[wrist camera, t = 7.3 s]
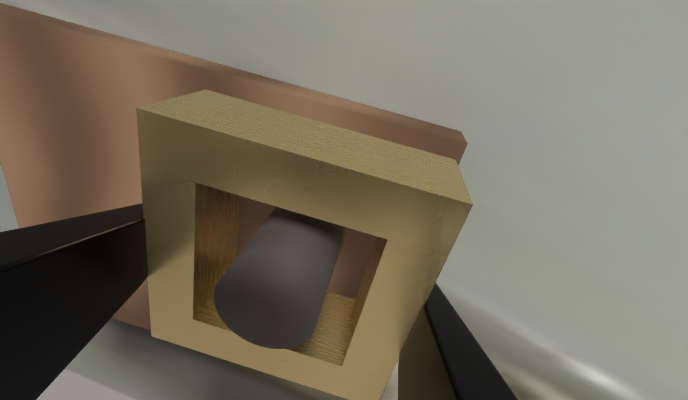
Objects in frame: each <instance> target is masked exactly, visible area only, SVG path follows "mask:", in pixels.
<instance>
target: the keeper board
mask: <svg viewBox="0 0 688 400" xmlns="http://www.w3.org/2000/svg"><path fill="white" fill-rule="evenodd" d="M202 90H209V91H213V92H217V93H220V94H224V95H227V96H231V97H234V98H238V99H241V100H245V101H248V102H252V103H256V104H259V105H263V106H266V107H270V108H273V109H277V110H280V111H284V112H288V113H291V114H295V115H298V116H302V117H305V118H309V119H312V120H316V121H319V122H323V123H327V124H330V125H334V126H337V127H341V128H344V129H348V130H351V131H355V132H359V133H362V134H366V135H369V136H373V137H376V138H380V139H383V140H387V141H390V142H394V143H398V144H401V145H405V146H408V147H412V148H415V149H419V150H422V151H426V152H430V153H433V154H437V155H440V156H444V157H447V158H451V159H454V160H456V162H457V165H459V162H460V160H461V158H462V155H463V153H464V151H465V148H466V146H467V142H466V140H465V138H464V136H463V135H462V133H461V132H460V131H457V130H453V129H450V128H446V127H443V126H439V125H435V124H432V123H428V122H425V121H421V120H417V119H414V118H410V117H407V116H403V115H400V114H396V113H392V112H389V111H385V110H382V109H378V108H374V107H371V106H367V105H364V104H360V103H357V102H353V101H349V100H346V99H342V98H339V97H335V96H331V95H328V94H324V93H321V92H317V91H314V90H310V89H306V88H303V87H299V86H296V85H292V84H289V83H285V82H281V81H278V80H274V79H271V78H267V77H263V76H260V75H256V74H253V73H249V72H246V71H242V70H238V69H235V68H231V67H228V66H224V65H220V64H217V63H213V62H210V61H206V60H203V59H199V58H195V57H192V56H188V55H185V54H181V53H177V52H174V51H170V50H167V49H163V48H160V47H156V46H152V45H149V44H145V43H142V42H138V41H135V40H131V39H127V38H124V37H120V36H117V35H113V34H109V33H106V32H102V31H99V30H95V29H92V28H88V27H84V26H81V25H77V24H74V23H70V22H66V21H63V20H59V19H56V18H52V17H49V16H45V15H41V14H38V13H34V12H31V11H27V10H23V9H20V8H16V7H13V6H9V5H6V4H2V3H0V162H1V166H2V169H3V173H4V176H5V180H6V183H7V187H8V190H9V194H10V197H11V201H12V204H13V208H14V212H15V215H16V219H17V222H18V226H19V228H24V227H29V226H34V225H39V224H44V223H48V222H53V221H58V220H63V219H68V218H73V217H78V216H83V215H87V214H92V213H97V212H102V211H107V210H112V209H117V208H122V207H126V206H131V205H136V204H141V203H142V188H141V173H140V159H139V144H138V129H137V114H136V108H137V107H141V106H145V105H149V104H153V103H156V102H160V101H164V100H168V99H172V98H175V97H179V96H183V95H187V94H191V93H194V92H198V91H202ZM376 237H377V236H374V235H371V234H367V233H364V232H361V231H357V230H354V229H350V228H347V227H344V226H340V225H337V224H334V223H330V222H327V221H323V220H320V219H317V218H313V217H310V216H307V215H303V214H300V213H296V212H293V211H290V210H286V209H283V208H280V207H276V206H273V205H269V204H266V203H263V202H259V201H256V200H253V199H249V198H246V197H242V203H241V214H240V224H239V234H238V244H237V255H236V259H235V261H234V262H233V263H232V265H231V266H230V267H229V268H228V270H227V271H226V272H225V274H224V275H223V276H222V277H221V279H220V280H219V281H218V283H217V285H216V287H215V290H214V304H215V307H216V310H217V312H218V314H219V316H220V318H221V319H222V321H223V322H224V323H225V325H226V326H227V327H228V328H229V329H230V330H231V331H233V332H234V333H235V334H236V335H238V336H239V337H241V338H242V339H244V340H246V341H248V342H250V343H252V344H255V345H258V346H261V347H265V348H271V349H287V348H292V347H295V346H298V345H300V344H302V343H304V342H305V341H306V340H308V339H309V338H310V336H311V335H312V333H313V332H314V329H315V327H316V324H317V320H318V317H319V314H320V311H321V308H322V305H323V302H324V299H325V295H326V292H327V291H329V292H332V293H335V294H339V295H342V296H345V297H348V298H352V299H356V296H357V293H358V290H359V287H360V284H361V281H362V278H363V275H364V272H365V269H366V267H367V264H368V261H369V258H370V255H371V252H372V249H373V246H374V243H375V240H376ZM112 318H113V319H116V320H119V321H122V322H125V323H128V324H131V325H134V326H137V327H141V328H144V329H147V330H150V331H151V322H150V308H149V293H148V278H147V279H146V280H145V281H144V282H143V283H142V285H141V286H140V287H139V288H138V289H137V290H136V291H135V292H134V294H133V295H132V296H131V297H130V298H129V299H128V300H127V301H126V302H125V303H124V304H123V306H122V307H121V308H120V309H119V310H118V311H117V312H116V313H115V314H114V315H113V316H112Z"/></svg>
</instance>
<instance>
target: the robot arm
mask: <svg viewBox="0 0 688 400" xmlns="http://www.w3.org/2000/svg"><path fill="white" fill-rule="evenodd" d="M147 277H148V262H147V246H146V231H145V220H144V218H143V203H141V204H136V205H131V206H126V207H122V208H117V209H112V210H107V211H102V212H97V213H92V214H87V215H83V216H78V217H73V218H68V219H63V220H58V221H53V222H48V223H44V224H39V225H34V226H29V227H24V228H19V229H14V230H9V231H4V232H0V400H36V399H37V398H38V397H39V396H40V395H41V394H42V393H43V391H44V390H45V389H46V388H47V387H48V386H49V385H50V384H51V383H52V382H53V381H54V380H55V378H56V377H57V376H58V375H59V374H60V373H61V372H62V371H63V370H64V369H65V368H66V366H67V365H68V364H69V363H70V362H71V361H72V360H73V359H74V358H75V357H76V356H77V355H78V353H79V352H80V351H81V350H82V349H83V348H84V347H85V346H86V345H87V344H88V343H89V341H90V340H91V339H92V338H93V337H94V336H95V335H96V334H97V333H98V332H99V331H100V329H101V328H102V327H103V326H104V325H105V324H106V323H107V322H108V321H109V320H110V319H111V318H112V316H113V315H114V314H115V313H116V312H117V311H118V310H119V309H120V308H121V307H122V306H123V304H124V303H125V302H126V301H127V300H128V299H129V298H130V297H131V296H132V295H133V294H134V292H135V291H136V290H137V289H138V288H139V287H140V286H141V285H142V283H143V282H144V281H145V280H146V279H147ZM398 400H518V399H517V397H516V396H515V394H514V393H513V392H512V390H511V389H510V387H509V386H508V384H507V383H506V382H505V380H504V379H503V377H502V376H501V375H500V373H499V372H498V370H497V369H496V367H495V366H494V365H493V363H492V362H491V360H490V359H489V358H488V356H487V355H486V353H485V352H484V350H483V349H482V348H481V346H480V345H479V343H478V342H477V341H476V339H475V338H474V336H473V335H472V333H471V332H470V331H469V329H468V328H467V326H466V325H465V323H464V322H463V321H462V319H461V318H460V316H459V315H458V314H457V312H456V311H455V309H454V308H453V306H452V305H451V304H450V302H449V301H448V299H447V298H446V297H445V295H444V294H443V292H442V291H441V289H440V288H439V287H438V285H437V284H436V282H435V284H434V286H433V289H432V291H431V293H430V295H429V297H428V299H427V301H426V303H425V304H424V305H423V306H422V308H421V310H420V313H419V315H418V317H417V319H416V321H415V323H414V325H413V327H412V329H411V331H410V333H409V335H408V338H407V340H406V342H405V344H404V346H403V348H402V350H401V352H400V354H399V367H398Z"/></svg>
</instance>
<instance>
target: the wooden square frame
mask: <svg viewBox="0 0 688 400" xmlns="http://www.w3.org/2000/svg"><path fill="white" fill-rule="evenodd" d="M136 114H137V129H138V144H139V159H140V173H141V188H142V203H143V218H144V220H145V231H146V246H147V262H148V277H147V278H148V293H149V308H150V322H151V336H152V337H155V338H158V339H161V340H165V341H168V342H171V343H174V344H177V345H180V346H183V347H186V348H189V349H193V350H196V351H199V352H202V353H205V354H208V355H211V356H214V357H217V358H221V359H224V360H227V361H230V362H233V363H236V364H239V365H242V366H245V367H248V368H252V369H255V370H258V371H261V372H264V373H267V374H270V375H273V376H276V377H280V378H283V379H286V380H289V381H292V382H295V383H298V384H301V385H304V386H308V387H311V388H314V389H317V390H320V391H323V392H326V393H329V394H332V395H336V396H339V397H342V398H345V399H348V400H379V399H380V396H381V394H382V392H383V390H384V388H385V386H386V384H387V382H388V380H389V378H390V376H391V374H392V372H393V369H394V367H395V365H396V363H397V361H398V359H399V354H400V352H401V350H402V348H403V346H404V344H405V342H406V340H407V338H408V335H409V333H410V331H411V329H412V327H413V325H414V323H415V321H416V319H417V317H418V315H419V313H420V310H421V308H422V306H423V305H424V304H425V303H426V301H427V299H428V297H429V295H430V293H431V291H432V289H433V286H434V284H435V282H436V280H437V278H438V276H439V274H440V272H441V270H442V268H443V266H444V264H445V262H446V259H447V257H448V255H449V253H450V251H451V249H452V247H453V245H454V243H455V241H456V239H457V237H458V235H459V232H460V230H461V228H462V226H463V224H464V222H465V220H466V218H467V216H468V214H469V212H470V210H471V208H472V206H473V204H472V201H471V198H470V196H469V193H468V191H467V188H466V185H465V183H464V180H463V178H462V175H461V172H460V170H459V167H458V165H457V162H456V160H454V159H451V158H447V157H444V156H440V155H437V154H433V153H430V152H426V151H422V150H419V149H415V148H412V147H408V146H405V145H401V144H398V143H394V142H390V141H387V140H383V139H380V138H376V137H373V136H369V135H366V134H362V133H359V132H355V131H351V130H348V129H344V128H341V127H337V126H334V125H330V124H327V123H323V122H319V121H316V120H312V119H309V118H305V117H302V116H298V115H295V114H291V113H288V112H284V111H280V110H277V109H273V108H270V107H266V106H263V105H259V104H256V103H252V102H248V101H245V100H241V99H238V98H234V97H231V96H227V95H224V94H220V93H217V92H213V91H209V90H202V91H198V92H194V93H191V94H187V95H183V96H179V97H175V98H172V99H168V100H164V101H160V102H156V103H153V104H149V105H145V106H141V107H137V108H136ZM242 197H246V198H249V199H253V200H256V201H259V202H263V203H266V204H269V205H273V206H276V207H280V208H283V209H286V210H290V211H293V212H296V213H300V214H303V215H307V216H310V217H313V218H317V219H320V220H323V221H327V222H330V223H334V224H337V225H340V226H344V227H347V228H350V229H354V230H357V231H361V232H364V233H367V234H371V235H374V236H377V237H376V240H375V243H374V246H373V249H372V252H371V255H370V258H369V261H368V264H367V267H366V269H365V272H364V275H363V278H362V281H361V284H360V287H359V290H358V293H357V296H356V299H352V298H348V297H345V296H342V295H339V294H335V293H332V292H329V291H327V292H326V295H325V299H324V302H323V305H322V308H321V311H320V314H319V317H318V320H317V324H316V327H315V329H314V332H313V333H312V335H311V336H310V338H309V339H308V340H306V341H305V342H304V343H302V344H300V345H298V346H295V347H292V348H287V349H271V348H265V347H261V346H258V345H255V344H252V343H250V342H248V341H246V340H244V339H242V338H241V337H239V336H238V335H236V334H235V333H234V332H233V331H231V330H230V329H229V328H228V327H227V326H226V325H225V323H224V322H223V321H222V319H221V318H220V316H219V314H218V312H217V310H216V307H215V304H214V290H215V287H216V285H217V283H218V281H219V280H220V279H221V277H222V276H223V275H224V274H225V272H226V271H227V270H228V268H229V267H230V266H231V265H232V263H233V262H234V261H235V259H236V255H237V244H238V234H239V224H240V214H241V203H242Z"/></svg>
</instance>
